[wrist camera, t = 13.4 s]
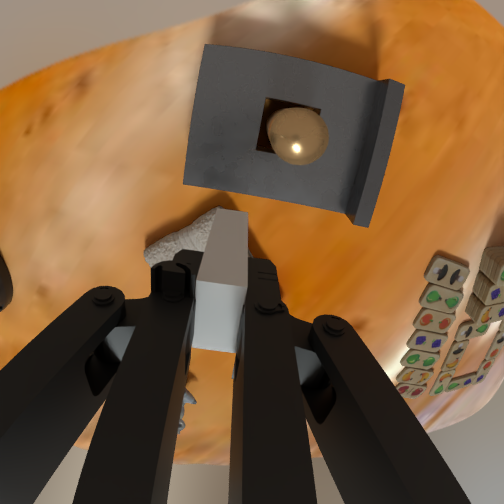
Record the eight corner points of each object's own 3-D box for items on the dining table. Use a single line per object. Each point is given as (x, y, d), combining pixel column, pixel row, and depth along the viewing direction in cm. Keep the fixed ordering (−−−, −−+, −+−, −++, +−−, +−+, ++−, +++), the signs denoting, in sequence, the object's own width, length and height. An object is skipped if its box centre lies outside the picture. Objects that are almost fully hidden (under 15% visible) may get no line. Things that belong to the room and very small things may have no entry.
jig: (191, 175, 33) (175, 192, 26) (211, 51, 26) (198, 37, 20) (348, 204, 34) (368, 227, 27) (377, 87, 27) (405, 84, 21)
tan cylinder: (262, 141, 31) (264, 158, 20) (269, 105, 29) (276, 102, 18) (299, 148, 31) (321, 170, 20) (307, 113, 29) (334, 115, 18)
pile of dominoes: (427, 249, 36) (446, 269, 31) (538, 241, 35) (557, 256, 30) (381, 404, 52) (388, 425, 47) (481, 378, 50) (490, 394, 45)
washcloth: (217, 342, 44) (215, 357, 41) (142, 246, 37) (134, 257, 34) (290, 313, 41) (292, 327, 38) (221, 200, 34) (218, 209, 32)
